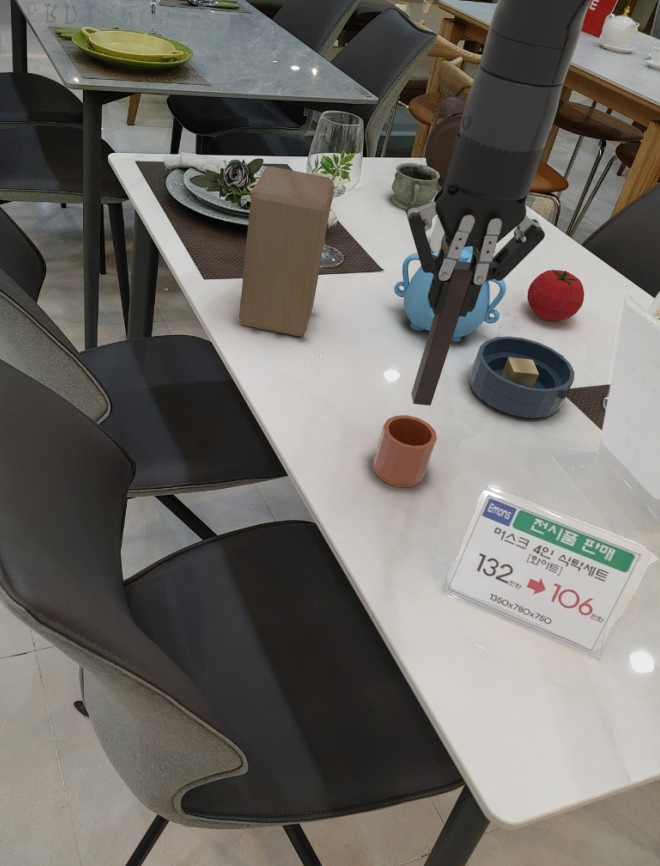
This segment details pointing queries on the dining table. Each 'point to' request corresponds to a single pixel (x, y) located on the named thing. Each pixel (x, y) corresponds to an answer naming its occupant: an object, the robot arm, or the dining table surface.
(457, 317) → the stick
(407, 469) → the holder
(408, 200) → the vessel
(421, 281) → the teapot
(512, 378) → the block
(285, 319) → the wooden block
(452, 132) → the alarm clock
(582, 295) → the tomato
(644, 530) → the dining table surface
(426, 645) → the dining table surface
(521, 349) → the bowl
